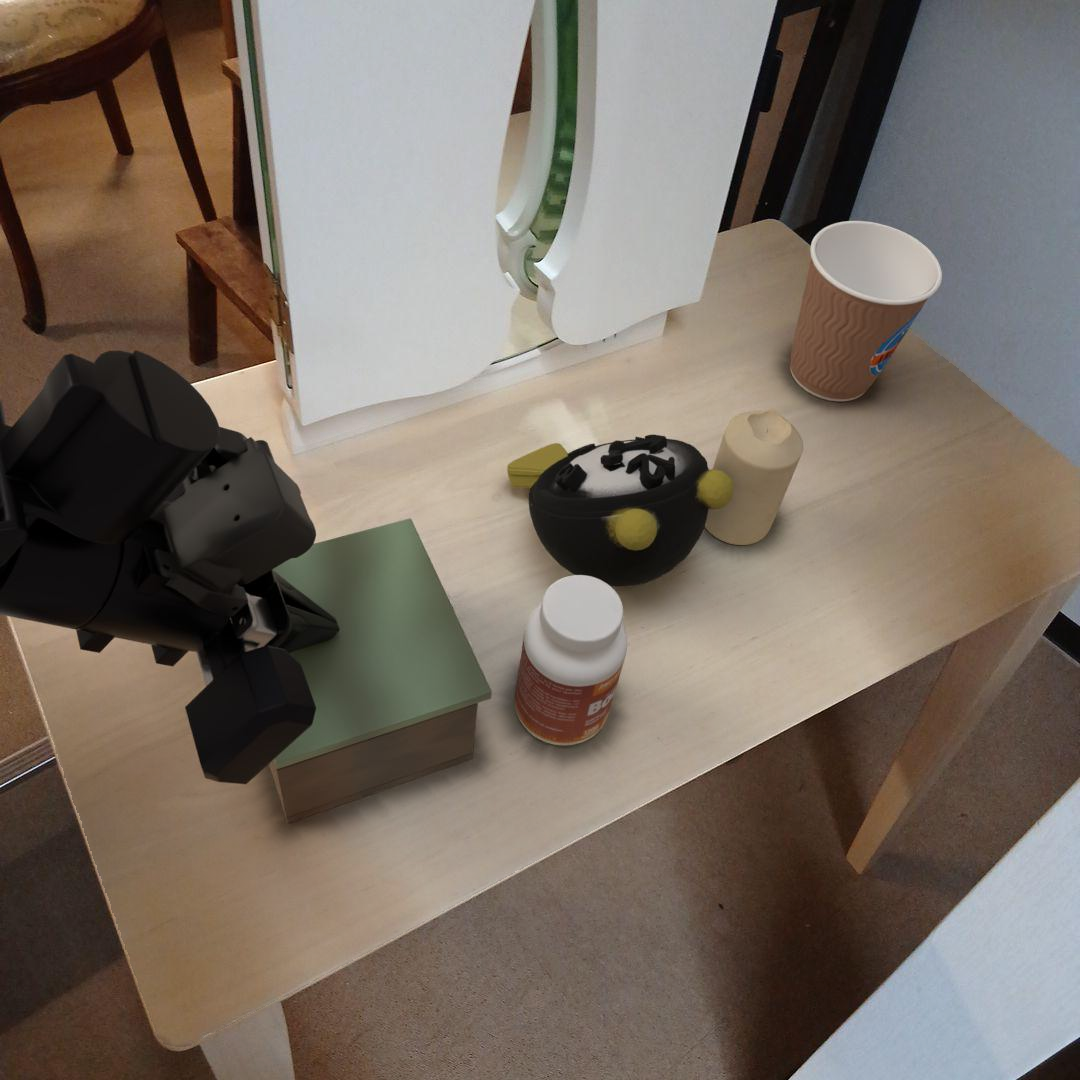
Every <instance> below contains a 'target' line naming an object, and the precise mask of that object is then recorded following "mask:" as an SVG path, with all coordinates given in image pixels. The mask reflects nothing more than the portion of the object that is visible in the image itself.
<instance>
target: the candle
mask: <svg viewBox="0 0 1080 1080" xmlns="http://www.w3.org/2000/svg"><path fill="white" fill-rule="evenodd" d="M719 444H720V445H719V447H718V450H717V453H716V457H715V458H714V459H715V460H714V462H713V465H712V467H711V469H716V470H721V471H723V472H725V473H726V474H727V475H728V476H729V477H730V478H731V480H732V482H733V487H734V491H733V495H732V499H731V500H730V501H729V502H728V504H727V505H725V506H723V507H721V508H719V509H709V510H708V515H707V519H706V523H705V527H704V529H705V530H706V531H708V533H709V534H711V535H712V536H713V537H715V538H716V539H718V540H720V541H722V542H724V543H727V544H729V545H730V544H731V545H736V546H748V545H754V544H755V543H758V542H760V541H762V540H763V539H764V538H765V537H766V536H767V534H769V532H770V530H771V528H772V526H773V524H774V521H775V519H776V517H777V514H778V512H779V510H780V507H781V505H782V503H783V500H784V497H785V495H786V493H787V490H788V488H789V486H790V483H791V481H792V479H793V477H794V474H795V471H796V469H797V467H798V464H799V462H800V460H801V458H802V454H803V452H804V441H803V438H802V436H801V434H800V432H799V431H798V429H797V428H796V427H795V426H794V425H793V424H792V423H791V422H790V421H789V420H788V419H786V418H785V417H784V416H783V415H781V413H780V412H779V411H778V410H776V409H767V410H750V411H744V412H742V413H739V414H736V415H735V416H734V417H732V418H731V419H730V420H729V421H728V423H727V424H726V426H725V429H724V433H723V436H722V438H721V441H720V443H719Z"/></svg>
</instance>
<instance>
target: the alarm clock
mask: <svg viewBox="0 0 1080 1080" xmlns="http://www.w3.org/2000/svg"><path fill="white" fill-rule="evenodd" d="M506 466H507V468H506V469H507V470H506V471H507V475H508V479H509V483H510V485H511V486H512V487H513V488H522V489H523V488H524V489H526V488H527V489H529V492H528V511H529V516H530V518H531V522H532V526H533V529H534V531H535V533H536V535H537V538H538V539H539V541H540V543H541V544H542V546H543V547H544V549H545V550H546V551H547V553H548V554H549V555H550V556H551V557H552V558H553V559H554V561H555V562H557V563H558V564H559V565H560V566H561V567H562V568H563V569H565V570H566V571H567V572H569V573H570V574H572V575H585V576H591V577H594V578H597V579H600V580H602V581H603V582H605V583H607V584H608V585H609V586H611V587H612V588H613V587H614V588H622V587H635V586H639V585H644V584H647V583H649V582H653V581H655V580H657V579H659V578H662V577H663V576H665V575H667V574H668V573H670V572H671V571H673V570H674V569H675V568H676V567H678V565H680V564H681V563H682V562H683V561H684V560H685V559H686V558H687V557H688V556H689V555H690V554H691V552H692V551H693V549H694V547H695V546H696V545H697V543H698V542H699V540H700V538H701V536H702V534H703V531H704V530H705V523H706V519H707V515H708V510H709V509H719V508H721V507H723V506H725V505H727V504H728V502H729V501H730V500H731V499H732V495H733V491H734V487H733V482H732V480H731V478H730V477H729V476H728V475H727V474H726V473H725V472H723V471H721V470H716V469H712V468H711V469H710V468H709V465H708V461H707V459H706V457H704V456H703V455H702V453H701V451H699V450H698V449H697V448H696V447H695V446H693V445H692V444H690V443H688V442H686V441H682V440H679V439H672V438H667V436H665V435H660V434H647V435H645V436H644V437H640V436H635V437H634V439H626V440H618V439H617V440H614V441H612V442H605V443H601V444H598V445H596V444H595V443H589V444H586V445H583V446H580V447H578V448H576V449H573V450H572V451H570V452H567V450H566V448H564V446H563V445H562V444H561V443H558V442H555V443H550V444H548V445H545V446H543V447H540V448H538V449H536V450H533V451H532V452H529V453H527V454H525V455H523V456H521V457H518V458H515V459H514V460H512V461H510V463H508V464H507V465H506Z"/></svg>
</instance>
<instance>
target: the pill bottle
mask: <svg viewBox="0 0 1080 1080" xmlns="http://www.w3.org/2000/svg"><path fill="white" fill-rule="evenodd" d="M623 618H624V607H623V602H622V599H621V597H620V595H619V594H618V593H617V591H616V590H615V589H614V588H613V587H611V586H609V585H608V584H607V583H605V582H603V581H602V580H600V579H597V578H594V577H591V576H585V575H574V574H572V575H568V576H564V577H561V578H559V579H557V580H556V581H554V582H552V584H550V586H549V587H548V588H547V589H546V591H545V592H544V594H543V597H542V601H541V603H540V604H538V605H537V606H536V608H535V609H534V610H533V611H532V612H531V613H530V615H529V616H528V619H527V621H526V624H525V627H524V633H523V638H522V645H521V651H520V658H519V665H518V669H517V670H518V671H517V676H516V677H517V678H516V684H515V689H514V708H515V713H516V715H517V717H518V720H519V721H520V723H521V724H522V726H523V727H524V729H526V731H528V733H529V734H531V735H532V736H533V737H535V738H536V739H538V740H540V741H542V742H544V743H547V744H551V745H556V746H573V745H574V746H575V745H578V744H582V743H584V742H586V741H588V740H590V739H592V738H593V737H594V736H595V735H597V734H598V733H599V732H600V731H601V730H602V728H603V727H604V725H605V723H606V722H607V720H608V716H609V715H610V711H611V708H612V704H613V700H614V697H615V694H616V690H617V688H618V684H619V680H620V678H621V674H622V669H623V665H624V663H625V659H626V655H627V650H628V635H627V631H626V627H625V625H624V622H623Z"/></svg>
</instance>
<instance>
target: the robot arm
mask: <svg viewBox="0 0 1080 1080" xmlns="http://www.w3.org/2000/svg"><path fill="white" fill-rule="evenodd" d="M301 494H302V492H301V489H300V487H299V485H298V484H297V483H296V481H294V480H293V479H292V477H290V476H289V474H287V473H286V472H285V471H284V470H283V469H282V468H281V467H280V466H279V465H278V464H277V463H276V461H275V459H274V456H273V453H272V451H271V448H270V446H269V443H268V442H267V441H266V440H264V439H263V440H262V439H257V440H255V439H254V438H253V437H251V436H249V437H246V435H244V434H243V433H242V432H239V431H237V430H233V429H229V428H226V427H222V426H220V424H219V422H218V418H217V416H216V415H215V413H214V411H213V409H212V407H211V406H210V405H209V403H208V402H207V400H206V399H205V398H204V397H203V396H202V393H200V392H199V391H198V390H197V389H196V388H195V387H194V386H193V385H192V384H191V383H190V382H189V381H188V380H187V379H186V378H184V377H183V375H181V374H180V373H179V372H177V371H176V370H175V369H173V368H172V367H170V366H169V365H168V364H166V363H164V362H162V361H160V360H159V359H157V358H155V357H153V356H151V355H149V354H147V353H145V352H143V351H140V350H133V352H129V351H123V350H108V351H105V352H103V353H100V355H99V356H98V357H97V358H96V359H95V360H94V361H91V360H89V359H86V358H83V357H81V356H79V355H76V354H74V353H67V354H64V355H63V356H62V357H61V358H60V360H59V361H58V362H57V364H56V365H55V366H54V367H53V368H52V369H51V370H50V372H49V373H48V375H47V377H46V380H45V382H44V385H43V386H42V389H41V390H40V392H39V393H38V394H37V396H36V397H35V398H34V400H33V401H32V402H31V403H30V404H29V406H28V407H27V408H26V409H25V410H24V412H23V413H22V414H21V415H20V417H19V418H18V419H17V420H16V422H14V424H13V425H12V426H11V425H8V424H7V419H6V414H5V408H4V405H3V402H2V401H1V400H0V616H6V617H9V618H10V617H11V618H15V619H20V620H26V621H31V622H35V623H41V624H46V625H51V626H56V627H61V628H65V629H71V630H75V631H76V636H77V641H78V645H79V649H80V650H82V651H86V652H92V653H97V654H100V653H101V652H102V651H103V650H104V649H105V648H106V647H107V646H108V645H109V644H110V643H112V641H113V640H114V639H115V638H117V639H121V640H125V641H131V642H135V643H141V644H145V645H150V646H151V649H152V650H151V651H152V653H153V658H154V662H155V664H157V665H163V666H168V667H174V666H175V665H177V663H178V662H180V661H181V660H182V658H184V656H186V655H187V653H188V652H193V653H194V652H195V653H196V655H197V658H198V662H199V665H200V668H201V673H202V675H203V680H204V682H205V687H203V689H202V690H201V691H199V693H197V695H196V696H195V697H194V698H193V699H192V700H190V702H188V703H187V704H186V705H185V706H184V708H185V712H186V716H187V720H188V723H189V727H190V731H191V735H192V738H193V742H194V746H195V749H196V753H197V757H198V761H199V764H200V767H201V770H202V773H203V776H204V779H207V780H211V781H213V782H218V783H225V784H237V785H247V784H248V783H250V781H252V780H253V779H254V778H255V777H256V776H257V775H258V774H259V773H261V772H262V771H263V770H264V769H265V768H266V767H268V766H269V763H270V762H271V761H273V760H274V759H275V758H276V757H277V756H278V755H279V754H280V753H281V752H283V751H284V750H285V749H286V748H287V747H288V746H289V745H290V744H291V743H293V742H294V741H295V740H296V739H297V738H298V737H299V736H300V735H301V734H302V733H304V732H305V731H306V730H307V729H308V728H309V727H310V726H311V725H312V724H313V720H314V716H315V711H316V706H315V703H314V700H313V697H312V694H311V692H310V689H309V686H308V683H307V680H306V677H305V675H304V672H303V669H302V666H301V664H300V663H299V662H298V661H297V660H295V659H294V658H293V657H292V656H291V655H290V654H289V653H290V652H293V651H296V650H300V649H303V648H306V647H309V646H312V645H316V644H319V643H322V642H325V641H328V640H330V639H331V638H333V637H334V636H335V635H336V634H337V633H338V632H339V631H340V629H339V626H338V624H337V621H336V619H335V618H334V617H333V616H332V615H330V614H329V613H328V612H326V611H325V610H324V609H322V608H321V607H320V606H319V605H317V604H316V603H315V602H313V601H312V600H311V599H309V598H308V597H307V596H305V595H304V594H303V593H301V592H300V591H299V590H297V589H296V588H295V587H294V586H292V585H291V584H290V583H288V582H287V581H286V580H285V579H284V578H282V577H281V576H280V575H279V574H278V573H277V572H275V571H274V570H273V569H274V568H276V567H277V566H279V565H281V564H282V563H284V562H286V561H287V560H289V559H292V558H298V557H299V556H301V555H303V554H304V553H306V552H307V551H308V550H309V549H310V548H311V547H312V545H313V544H315V542H316V538H317V531H316V527H315V524H314V522H313V520H312V519H311V517H310V515H309V512H308V510H307V508H306V504H305V503H304V500H303V497H302V495H301Z"/></svg>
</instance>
